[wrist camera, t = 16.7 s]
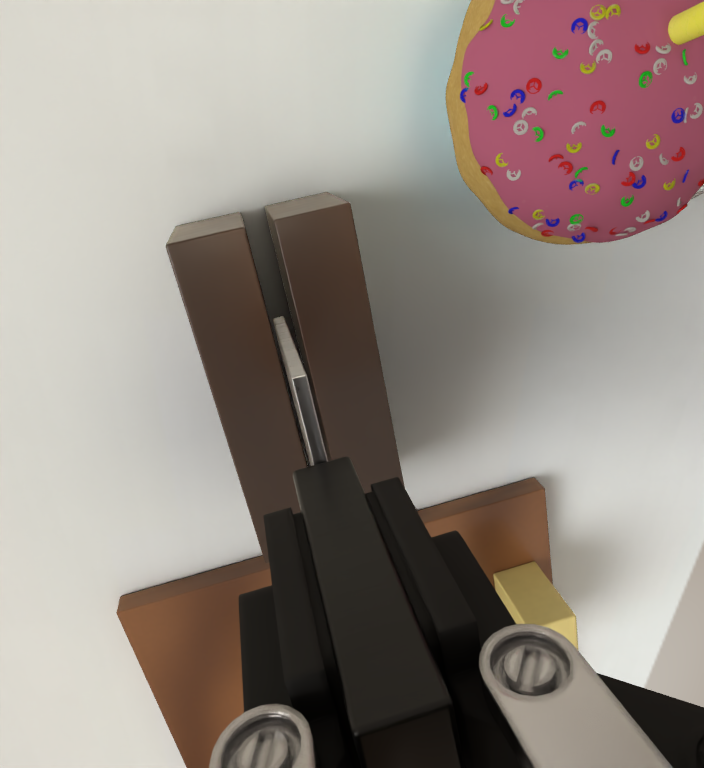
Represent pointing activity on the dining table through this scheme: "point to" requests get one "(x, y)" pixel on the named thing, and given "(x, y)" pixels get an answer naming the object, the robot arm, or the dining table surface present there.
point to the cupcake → (580, 114)
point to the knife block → (315, 340)
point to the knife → (367, 608)
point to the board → (224, 585)
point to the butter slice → (535, 600)
